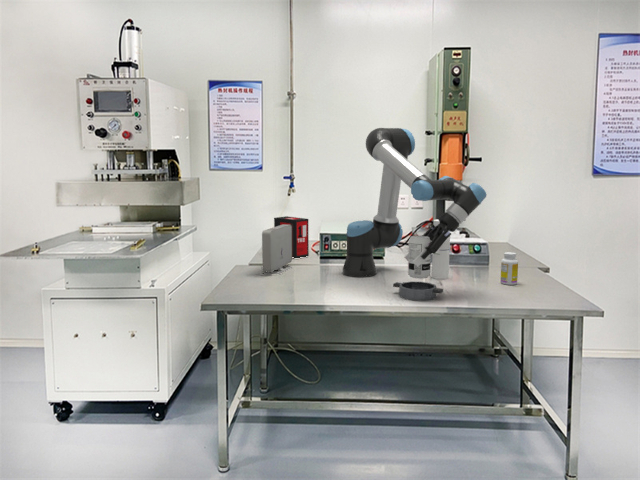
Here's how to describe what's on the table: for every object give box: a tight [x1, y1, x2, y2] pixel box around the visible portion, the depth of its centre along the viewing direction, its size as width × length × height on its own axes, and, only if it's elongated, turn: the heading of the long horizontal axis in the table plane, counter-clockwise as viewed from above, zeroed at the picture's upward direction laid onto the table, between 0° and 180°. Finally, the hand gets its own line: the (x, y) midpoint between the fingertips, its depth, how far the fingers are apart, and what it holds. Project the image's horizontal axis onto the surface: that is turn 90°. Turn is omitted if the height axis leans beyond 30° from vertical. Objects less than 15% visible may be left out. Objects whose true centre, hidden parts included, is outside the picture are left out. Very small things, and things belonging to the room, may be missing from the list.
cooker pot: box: [393, 281, 444, 302], centre depth 209 cm, size 19×14×4 cm
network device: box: [261, 224, 293, 275], centre depth 253 cm, size 26×9×20 cm, turn 161°
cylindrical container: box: [431, 218, 451, 280], centre depth 239 cm, size 7×7×25 cm
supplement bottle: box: [500, 251, 519, 286], centre depth 228 cm, size 7×7×13 cm
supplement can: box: [407, 235, 432, 279], centre depth 207 cm, size 8×8×15 cm
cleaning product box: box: [273, 215, 310, 259], centre depth 289 cm, size 16×9×20 cm, turn 46°
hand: (410, 261), depth 206 cm, fingers closed on supplement can, 8 cm apart
